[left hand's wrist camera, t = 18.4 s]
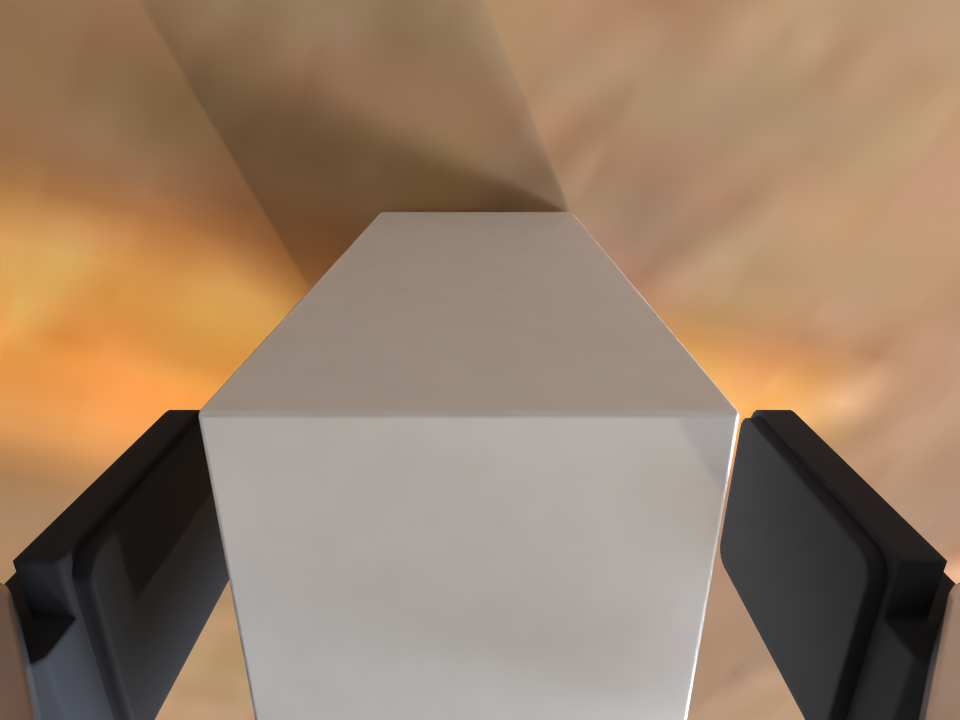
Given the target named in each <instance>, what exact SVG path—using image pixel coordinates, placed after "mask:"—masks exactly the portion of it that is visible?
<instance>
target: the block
mask: <svg viewBox="0 0 960 720" xmlns="http://www.w3.org/2000/svg"><path fill="white" fill-rule="evenodd" d="M738 420H739V413H738V410H737V409H736V408H735V407H734V406H733V404H732V403H731V402H730V401H729V400H728V399H727V397H726V396H725V395H724V394H723V393H722V391H721V390H720V389H719V388H718V387H717V385H716V384H715V383H714V382H713V381H712V379H711V378H710V377H709V376H708V375H707V373H706V372H705V371H704V370H703V369H702V367H701V366H700V365H699V364H698V363H697V361H696V360H695V359H694V358H693V357H692V355H691V354H690V353H689V352H688V351H687V349H686V348H685V347H684V346H683V345H682V343H681V342H680V341H679V340H678V339H677V337H676V336H675V335H674V334H673V333H672V331H671V330H670V329H669V328H668V327H667V326H666V324H665V323H664V322H663V321H662V320H661V318H660V317H659V316H658V315H657V314H656V312H655V311H654V310H653V309H652V308H651V306H650V305H649V304H648V303H647V302H646V300H645V299H644V298H643V297H642V296H641V294H640V293H639V292H638V291H637V290H636V288H635V287H634V286H633V285H632V284H631V282H630V281H629V280H628V279H627V278H626V276H625V275H624V274H623V273H622V272H621V270H620V269H619V268H618V267H617V266H616V264H615V263H614V262H613V261H612V260H611V259H610V257H609V256H608V255H607V254H606V253H605V251H604V250H603V249H602V248H601V247H600V245H599V244H598V243H597V242H596V241H595V239H594V238H593V237H592V236H591V235H590V233H589V232H588V231H587V230H586V229H585V227H584V226H583V225H582V224H581V223H580V221H579V220H578V219H577V218H576V217H575V215H574V214H573V213H572V212H381V213H380V214H379V215H378V216H377V217H376V218H375V219H374V220H373V222H372V223H371V224H370V225H369V226H368V227H367V228H366V229H365V230H364V231H363V232H362V234H361V235H360V236H359V237H358V238H357V239H356V240H355V241H354V242H353V243H352V245H351V246H350V247H349V248H348V249H347V250H346V251H345V252H344V253H343V254H342V256H341V257H340V258H339V259H338V260H337V261H336V262H335V263H334V264H333V265H332V266H331V268H330V269H329V270H328V271H327V272H326V273H325V274H324V275H323V276H322V277H321V279H320V280H319V281H318V282H317V283H316V284H315V285H314V286H313V287H312V288H311V289H310V291H309V292H308V293H307V294H306V295H305V296H304V297H303V298H302V299H301V300H300V302H299V303H298V304H297V305H296V306H295V307H294V308H293V309H292V310H291V311H290V313H289V314H288V315H287V316H286V317H285V318H284V319H283V320H282V321H281V322H280V323H279V325H278V326H277V327H276V328H275V329H274V330H273V331H272V332H271V333H270V334H269V336H268V337H267V338H266V339H265V340H264V341H263V342H262V343H261V344H260V345H259V346H258V348H257V349H256V350H255V351H254V352H253V353H252V354H251V355H250V356H249V357H248V359H247V360H246V361H245V362H244V363H243V364H242V365H241V366H240V367H239V368H238V370H237V371H236V372H235V373H234V374H233V375H232V376H231V377H230V378H229V379H228V380H227V382H226V383H225V384H224V385H223V386H222V387H221V388H220V389H219V390H218V391H217V393H216V394H215V395H214V396H213V397H212V398H211V399H210V400H209V401H208V402H207V403H206V405H205V406H204V407H203V408H202V409H201V410H200V412H199V422H200V427H201V432H202V438H203V443H204V448H205V453H206V459H207V464H208V469H209V475H210V480H211V485H212V491H213V496H214V501H215V507H216V512H217V517H218V523H219V528H220V533H221V539H222V544H223V549H224V554H225V560H226V565H227V570H228V576H229V581H230V586H231V592H232V597H233V602H234V608H235V613H236V618H237V624H238V629H239V634H240V640H241V645H242V650H243V656H244V661H245V666H246V671H247V677H248V682H249V687H250V693H251V698H252V703H253V709H254V714H255V719H256V720H687V715H688V709H689V703H690V698H691V692H692V686H693V680H694V674H695V669H696V663H697V657H698V651H699V646H700V640H701V634H702V628H703V622H704V617H705V611H706V605H707V599H708V594H709V588H710V582H711V576H712V570H713V565H714V559H715V553H716V547H717V541H718V536H719V530H720V524H721V518H722V513H723V507H724V501H725V495H726V489H727V484H728V478H729V472H730V466H731V461H732V455H733V449H734V443H735V437H736V432H737V426H738Z"/></svg>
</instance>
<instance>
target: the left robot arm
mask: <svg viewBox="0 0 960 720" xmlns="http://www.w3.org/2000/svg"><path fill="white" fill-rule="evenodd" d="M199 412H200V410H169V411H167V412H166V413H165V414H163V415H162V416H161V417H160V418H159V419H158V420H157V421H156V422H155V423H154V424H153V425H152V426H151V427H150V428H149V429H148V430H147V431H146V432H145V433H144V434H143V435H142V436H141V437H140V438H139V439H138V440H137V441H136V442H135V443H134V444H133V445H132V446H131V447H130V448H129V449H127V450H126V451H125V452H124V453H123V454H122V455H121V456H120V457H119V458H118V459H117V460H116V461H115V462H114V463H113V464H112V465H111V466H110V467H109V468H108V469H107V470H106V471H105V472H104V473H103V474H102V475H101V476H100V477H99V478H98V479H97V480H96V481H95V482H94V483H93V484H92V485H90V486H89V487H88V488H87V489H86V490H85V491H84V492H83V493H82V494H81V495H80V496H79V497H78V498H77V499H76V500H75V501H74V502H73V503H72V504H71V505H70V506H69V507H68V508H67V509H66V510H65V511H64V512H63V513H62V514H61V515H60V516H59V517H58V518H57V519H56V520H55V521H53V522H52V523H51V524H50V525H49V526H48V527H47V528H46V529H45V530H44V531H43V532H42V533H41V534H40V535H39V536H38V537H37V538H36V539H35V540H34V541H33V542H32V543H31V544H30V545H29V546H28V547H27V548H26V549H25V550H24V551H23V552H22V553H21V554H20V555H19V556H18V557H16V558H15V559H14V560H13V563H14V566H15V569H16V573H15V574H14V575H13V576H12V577H11V578H10V579H9V580H8V581H7V582H6V583H5V584H2V583H0V720H155V718H156V716H157V714H158V712H159V710H160V709H161V707H162V705H163V703H164V701H165V699H166V697H167V695H168V693H169V692H170V690H171V688H172V686H173V684H174V682H175V680H176V678H177V677H178V675H179V673H180V671H181V669H182V667H183V665H184V663H185V661H186V660H187V658H188V656H189V654H190V652H191V650H192V648H193V646H194V644H195V643H196V641H197V639H198V637H199V635H200V633H201V631H202V629H203V628H204V626H205V624H206V622H207V620H208V618H209V616H210V614H211V612H212V611H213V609H214V607H215V605H216V603H217V601H218V599H219V597H220V595H221V594H222V592H223V590H224V588H225V586H226V584H227V582H228V580H229V576H228V570H227V565H226V560H225V554H224V549H223V544H222V539H221V533H220V528H219V523H218V517H217V512H216V507H215V501H214V496H213V491H212V485H211V480H210V475H209V469H208V464H207V459H206V453H205V448H204V443H203V438H202V432H201V427H200V422H199ZM720 553H721V559H722V563H723V565H724V567H725V569H726V571H727V573H728V575H729V577H730V579H731V580H732V582H733V584H734V586H735V588H736V590H737V592H738V594H739V596H740V597H741V599H742V601H743V603H744V605H745V607H746V609H747V611H748V612H749V614H750V616H751V618H752V620H753V622H754V624H755V626H756V628H757V629H758V631H759V633H760V635H761V637H762V639H763V641H764V643H765V645H766V646H767V648H768V650H769V652H770V654H771V656H772V658H773V660H774V661H775V663H776V665H777V667H778V669H779V671H780V673H781V675H782V677H783V678H784V680H785V682H786V684H787V686H788V688H789V690H790V692H791V694H792V695H793V697H794V699H795V701H796V703H797V705H798V707H799V709H800V710H801V712H802V714H803V716H804V718H805V720H960V583H958V584H955V583H954V582H953V581H952V580H951V579H950V578H949V577H948V576H947V575H946V574H945V573H944V569H945V566H946V563H947V560H946V559H945V558H943V557H942V556H941V555H940V554H939V553H938V552H937V551H936V550H935V549H934V548H933V547H932V546H931V545H930V544H929V543H928V542H927V541H926V540H925V539H924V538H923V537H922V536H921V535H920V534H919V533H918V532H917V531H916V530H915V529H914V528H913V527H912V526H911V525H910V524H909V523H908V522H906V521H905V520H904V519H903V518H902V517H901V516H900V515H899V514H898V513H897V512H896V511H895V510H894V509H893V508H892V507H891V506H890V505H889V504H888V503H887V502H886V501H885V500H884V499H883V498H882V497H881V496H880V495H879V494H878V493H877V492H876V491H875V490H874V489H873V488H872V487H871V486H869V485H868V484H867V483H866V482H865V481H864V480H863V479H862V478H861V477H860V476H859V475H858V474H857V473H856V472H855V471H854V470H853V469H852V468H851V467H850V466H849V465H848V464H847V463H846V462H845V461H844V460H843V459H842V458H841V457H840V456H839V455H838V454H837V453H836V452H835V451H833V450H832V449H831V448H830V447H829V446H828V445H827V444H826V443H825V442H824V441H823V440H822V439H821V438H820V437H819V436H818V435H817V434H816V433H815V432H814V431H813V430H812V429H811V428H810V427H809V426H808V425H807V424H806V423H805V422H804V421H803V420H802V419H801V418H800V417H799V416H798V415H796V414H795V413H794V412H793V411H791V410H756V411H755V412H754V413H753V415H752V417H751V418H745V419H744V420H743V422H742V424H741V428H740V433H739V439H738V445H737V451H736V457H735V462H734V468H733V474H732V480H731V486H730V491H729V497H728V503H727V509H726V514H725V520H724V526H723V532H722V538H721V544H720Z"/></svg>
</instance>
